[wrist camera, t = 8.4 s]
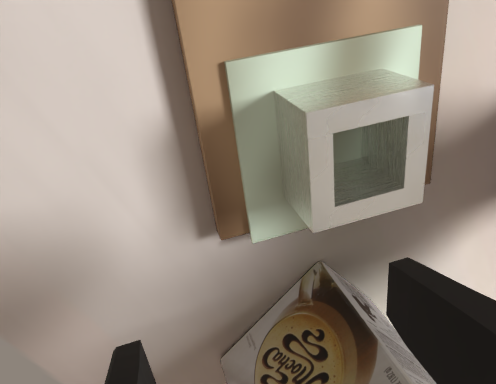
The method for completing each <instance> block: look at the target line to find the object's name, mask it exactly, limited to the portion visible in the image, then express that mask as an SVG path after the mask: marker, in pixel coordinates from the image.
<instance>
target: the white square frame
mask: <svg viewBox="0 0 496 384" xmlns="http://www.w3.org/2000/svg"><path fill="white" fill-rule="evenodd" d="M433 92H434V85H433V84H430V83H427V82H424V81H421V80H418V79H414V78H411V77H408V76H405V75H402V74H399V73H396V72H392V71H389V70H386V69H383V68H381V69H376V70H371V71H366V72H362V73H357V74H352V75H347V76H342V77H337V78H332V79H328V80H323V81H318V82H313V83H308V84H303V85H298V86H294V87H289V88H284V89H279V90H274V101H275V112H276V122H277V133H278V143H279V154H280V165H281V175H282V186H283V196H284V197H285V198H286V200H287V201H288V202H289V203H290V205H291V206H292V207H293V209H294V210H295V211H296V212H297V214H298V215H299V216H300V217H301V219H302V220H303V221H304V222H305V224H306V225H307V226H308V228H309V229H310V230H311V231H312V233H317V232H320V231H324V230H327V229H331V228H334V227H338V226H342V225H345V224H349V223H352V222H356V221H359V220H363V219H367V218H370V217H374V216H377V215H381V214H384V213H388V212H391V211H395V210H399V209H402V208H406V207H409V206H413V205H416V204H420V203H423V195H424V184H425V174H426V164H427V154H428V143H429V133H430V123H431V112H432V102H433ZM358 127H362V139H361V158H359V159H355V160H351V161H347V162H343V163H339V164H335V165H334V159H333V133H337V132H341V131H345V130H350V129H354V128H358Z"/></svg>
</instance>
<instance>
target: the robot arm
mask: <svg viewBox="0 0 496 384" xmlns="http://www.w3.org/2000/svg"><path fill="white" fill-rule="evenodd" d="M386 315H387V316H388V318H389V320H390V321H391V323H392V324H393V326H394V328H395V329H396V331H397V333H398V334H399V336H400V337H401V339H402V340H403V342H404V343H405V345H406V346H407V348H408V349H409V350H410V351H411V353H412V354H413V355H414V356H415V358H416V359H417V360H418V361H419V363H420V364H421V365H422V366H423V368H424V369H425V370H426V371H427V372H428V374H429V375H430V376H431V377H432V379H433V380H434V381H435V382H436V384H496V301H495V300H493V299H491V298H489V297H487V296H485V295H483V294H481V293H478V292H476V291H474V290H472V289H470V288H468V287H466V286H464V285H462V284H460V283H458V282H456V281H454V280H452V279H450V278H448V277H446V276H444V275H442V274H440V273H438V272H436V271H434V270H432V269H431V268H429V267H427V266H425V265H423V264H421V263H418V262H416V261H414V260H412V259H410V258H408V257H407V258H404V259H401V260H398V261H394V262H391V263H389V274H388V293H387V312H386ZM105 384H156V382H155V379H154V376H153V373H152V371H151V368H150V365H149V362H148V360H147V357H146V354H145V352H144V349H143V346H142V343H141V341H140V340H138V341H135V342H131V343H128V344H125V345H122V346H118V347H116V348H115V350H114V351H113V354H112V358H111V362H110V366H109V370H108V374H107V377H106V380H105Z"/></svg>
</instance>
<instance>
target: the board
mask: <svg viewBox="0 0 496 384" xmlns="http://www.w3.org/2000/svg"><path fill="white" fill-rule="evenodd" d="M172 4H173V9H174V14H175V20H176V25H177V30H178V35H179V40H180V45H181V50H182V55H183V60H184V65H185V70H186V75H187V80H188V85H189V91H190V96H191V101H192V106H193V111H194V116H195V121H196V126H197V131H198V136H199V141H200V146H201V151H202V156H203V162H204V167H205V172H206V177H207V182H208V187H209V192H210V197H211V202H212V207H213V212H214V217H215V222H216V227H217V231H218V234H219V236H220V238H221V240H224V239H228V238H232V237H235V236H239V235H243V234H246V233H250V237H251V241H252V243H257V242H261V241H264V240H268V239H271V238H275V237H279V236H282V235H286V234H289V233H293V232H297V231H300V230H304V229H307V228H308V226H307V225H306V224H305V222H304V221H303V220H302V219H301V217H300V216H299V215H298V214H297V212H296V211H295V210H294V209H293V207H292V206H291V205H290V203H289V202H288V201H287V200H286V198H285V197H284V196H283V186H282V175H281V165H280V154H279V143H278V133H277V122H276V112H275V101H274V90H279V89H284V88H289V87H294V86H298V85H303V84H308V83H313V82H318V81H323V80H328V79H332V78H337V77H342V76H347V75H352V74H357V73H362V72H366V71H371V70H376V69H381V68H383V69H386V70H389V71H392V72H396V73H399V74H402V75H405V76H408V77H411V78H414V79H418V80H421V81H424V82H427V83H430V84H433V85H434V92H433V102H432V112H431V123H430V133H429V143H428V154H427V164H426V174H425V184H424V185H426V184H429V183H430V180H431V170H432V160H433V150H434V141H435V131H436V121H437V111H438V102H439V92H440V82H441V73H442V63H443V53H444V43H445V34H446V24H447V14H448V4H449V0H172ZM361 139H362V127H358V128H354V129H350V130H345V131H341V132H337V133H333V159H334V165H335V164H339V163H343V162H347V161H351V160H355V159H359V158H361Z"/></svg>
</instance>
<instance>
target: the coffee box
mask: <svg viewBox="0 0 496 384" xmlns="http://www.w3.org/2000/svg"><path fill="white" fill-rule="evenodd" d="M220 362H221V365H222V369H223V372H224V375H225V378H226V382H227V384H436V382H435V381H434V380H433V379H432V377H431V376H430V375H429V374H428V372H427V371H426V370H425V369H424V368H423V366H422V365H421V364H420V363H419V361H418V360H417V359H416V358H415V356H414V355H413V354H412V353H411V351H410V350H409V349H408V348H407V346H406V345H405V343H404V342H403V340H402V339H401V337H400V336H399V334H398V333H397V331H396V330H395V329H394V327H393V326H392V325H391V324H390V322H389V321H388V320H387V319H386V317H385V316H384V315H383V314H382V312H381V311H380V310H379V309H378V308H377V306H376V305H375V304H374V303H373V302H372V301H371V300H370V299H369V298H367V297H366V296H365V295H364V294H362V293H361V292H360V291H359V290H358V289H356V288H355V287H354V286H353V285H351V284H350V283H349V282H348V281H346V280H345V279H344V278H343V277H341V276H340V275H339V274H338V273H336V272H335V271H334V270H332V269H331V268H330V267H329V266H327V265H326V264H325V263H324V262H317V263H316V264H315V265H314V266H313V267H312V268H311V269H310V270H309V271H308V272H307V273H306V274H305V275H304V276H303V277H302V278H301V279H300V280H299V281H298V282H297V283H296V284H295V285H294V286H293V287H292V288H291V289H290V290H289V291H288V292H287V293H286V294H285V295H284V296H283V297H282V298H281V299H280V300H279V301H278V302H277V303H276V304H275V305H274V306H273V307H272V308H271V309H270V310H269V311H268V312H267V313H266V314H265V315H264V316H263V317H262V318H261V319H260V320H259V321H258V322H257V323H256V324H255V325H254V326H253V327H252V328H251V329H250V330H249V331H248V332H247V333H246V334H245V335H244V336H243V337H242V338H241V339H240V340H239V341H238V342H237V343H236V344H235V345H234V346H233V347H232V348H231V349H230V350H229V351H228V352H227V353H226V354H225V355H224V356H223V357H222V358H221V361H220Z"/></svg>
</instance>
